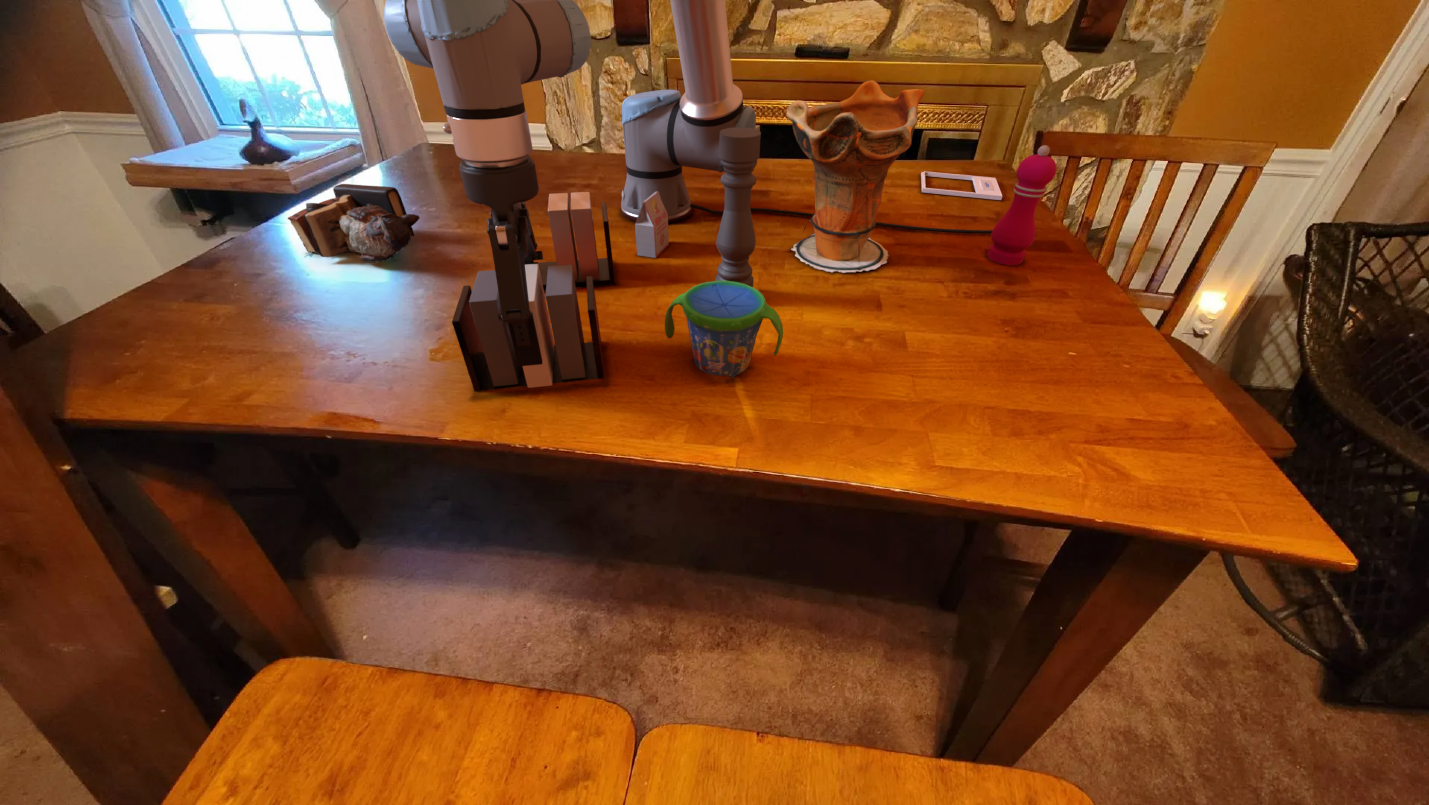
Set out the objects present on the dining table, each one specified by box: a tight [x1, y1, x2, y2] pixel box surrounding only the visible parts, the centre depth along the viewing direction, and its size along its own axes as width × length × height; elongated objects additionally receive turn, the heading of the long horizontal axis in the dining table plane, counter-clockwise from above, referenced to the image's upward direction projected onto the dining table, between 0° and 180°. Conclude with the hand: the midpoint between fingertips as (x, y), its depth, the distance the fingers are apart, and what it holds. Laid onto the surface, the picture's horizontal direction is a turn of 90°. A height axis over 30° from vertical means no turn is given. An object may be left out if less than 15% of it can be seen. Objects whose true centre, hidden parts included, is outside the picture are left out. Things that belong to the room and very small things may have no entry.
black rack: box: [538, 191, 616, 291], centre depth 92 cm, size 18×9×13 cm, turn 101°
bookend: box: [287, 183, 421, 263], centre depth 100 cm, size 15×11×25 cm
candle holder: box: [715, 127, 762, 288], centre depth 83 cm, size 6×6×25 cm
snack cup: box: [664, 280, 784, 380], centre depth 73 cm, size 16×10×10 cm
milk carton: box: [634, 191, 670, 259], centre depth 102 cm, size 4×7×10 cm, turn 163°
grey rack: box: [451, 276, 605, 393], centre depth 71 cm, size 16×9×11 cm, turn 101°
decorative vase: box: [785, 80, 925, 274], centre depth 96 cm, size 21×23×28 cm
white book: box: [523, 264, 555, 389], centre depth 70 cm, size 3×10×12 cm, turn 11°
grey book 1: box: [469, 269, 521, 387], centre depth 69 cm, size 3×8×12 cm, turn 11°
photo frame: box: [920, 170, 1003, 201], centre depth 137 cm, size 15×1×18 cm
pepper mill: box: [986, 144, 1058, 266], centre depth 98 cm, size 7×7×20 cm
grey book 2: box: [545, 265, 586, 380], centre depth 71 cm, size 3×8×12 cm, turn 11°
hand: (533, 334), depth 70 cm, fingers open, 13 cm apart
